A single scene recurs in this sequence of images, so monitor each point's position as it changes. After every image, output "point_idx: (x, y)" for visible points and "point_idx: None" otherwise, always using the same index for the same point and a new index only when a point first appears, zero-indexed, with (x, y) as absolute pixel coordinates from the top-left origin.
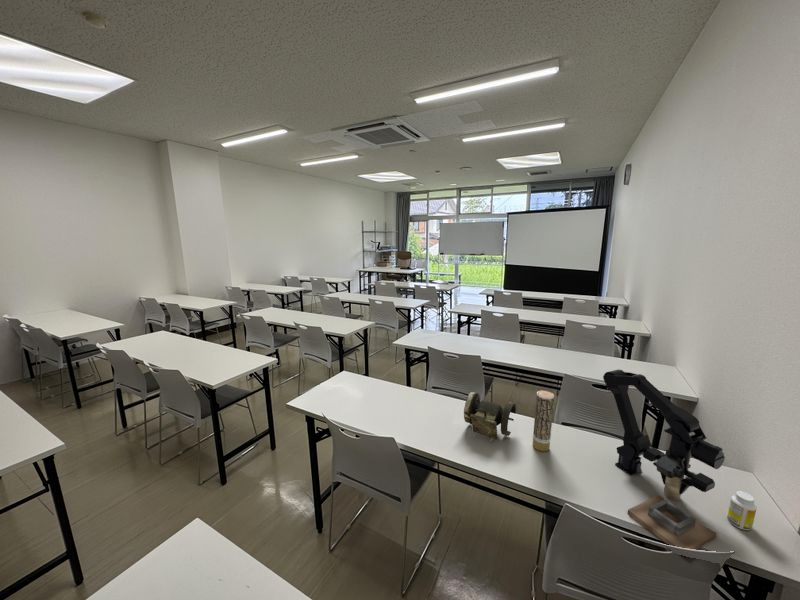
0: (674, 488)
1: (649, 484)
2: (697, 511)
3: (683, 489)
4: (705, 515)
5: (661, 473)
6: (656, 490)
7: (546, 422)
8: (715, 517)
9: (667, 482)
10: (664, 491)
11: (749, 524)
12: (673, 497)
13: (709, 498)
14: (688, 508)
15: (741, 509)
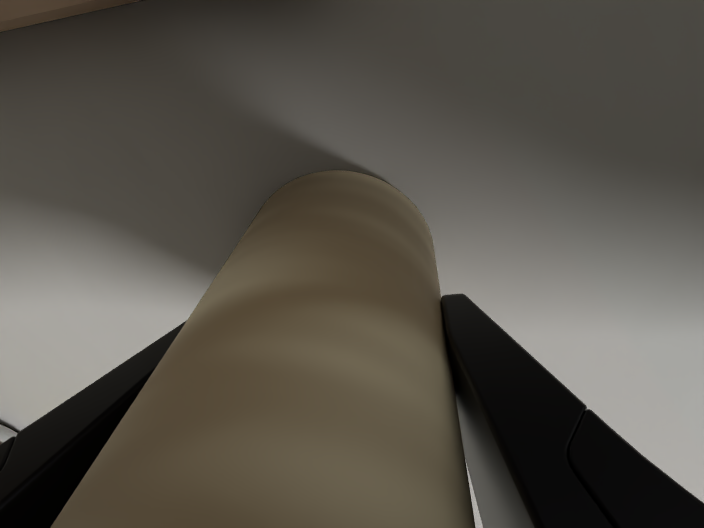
0: (198, 311)
1: (624, 161)
2: (89, 295)
3: (50, 416)
4: (40, 316)
5: (605, 467)
6: (486, 145)
7: None
8: (28, 371)
9: (333, 320)
10: (387, 201)
11: None
12: (258, 216)
13: None
14: (129, 247)
15: None
